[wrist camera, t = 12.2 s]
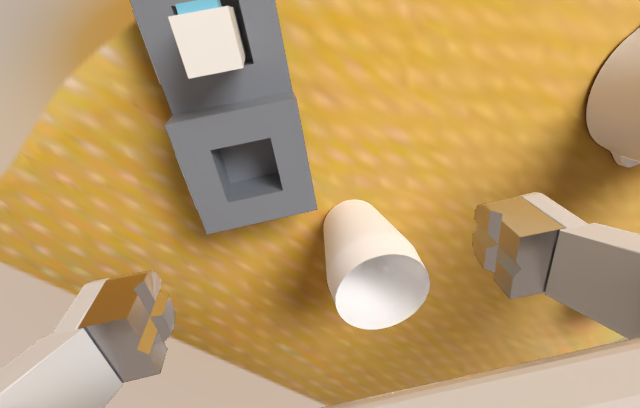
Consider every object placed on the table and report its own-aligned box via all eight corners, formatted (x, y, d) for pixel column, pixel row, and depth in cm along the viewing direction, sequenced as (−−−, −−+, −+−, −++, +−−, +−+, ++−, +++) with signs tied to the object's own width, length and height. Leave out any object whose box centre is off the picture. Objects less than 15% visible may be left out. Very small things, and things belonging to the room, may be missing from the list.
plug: (232, -1, 28) (224, -5, 20) (245, 53, 30) (243, 68, 22) (189, 7, 28) (164, 5, 20) (205, 61, 30) (188, 78, 22)
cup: (402, 209, 42) (451, 274, 31) (359, 264, 45) (391, 341, 34) (341, 175, 38) (373, 236, 28) (298, 238, 41) (313, 313, 31)
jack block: (262, -47, 28) (265, -64, 22) (307, 178, 38) (317, 209, 32) (132, -25, 27) (98, -35, 21) (212, 198, 37) (204, 235, 31)
